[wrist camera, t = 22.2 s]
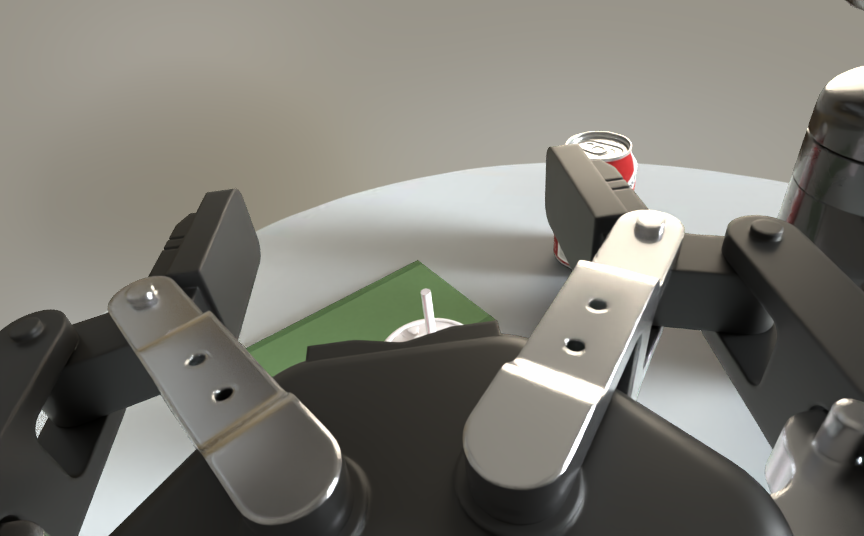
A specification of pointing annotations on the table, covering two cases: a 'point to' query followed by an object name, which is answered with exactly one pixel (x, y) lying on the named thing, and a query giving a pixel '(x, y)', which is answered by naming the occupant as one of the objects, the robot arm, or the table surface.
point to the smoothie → (421, 323)
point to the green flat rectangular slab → (367, 316)
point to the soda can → (610, 151)
